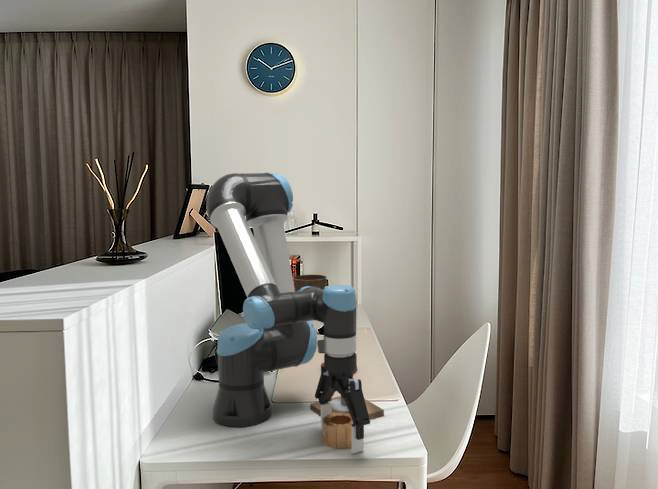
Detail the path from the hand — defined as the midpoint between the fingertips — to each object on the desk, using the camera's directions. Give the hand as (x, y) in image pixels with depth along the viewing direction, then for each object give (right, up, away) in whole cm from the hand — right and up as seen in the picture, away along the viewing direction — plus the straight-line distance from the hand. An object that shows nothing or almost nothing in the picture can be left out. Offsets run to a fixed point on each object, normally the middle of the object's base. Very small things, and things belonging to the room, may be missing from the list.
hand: (341, 440), depth 138 cm
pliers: (0, +5, +44) cm, 44 cm away
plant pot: (-11, +15, +129) cm, 130 cm away
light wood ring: (0, 0, 0) cm, 0 cm away
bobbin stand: (+2, +2, +16) cm, 17 cm away
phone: (-3, +8, +75) cm, 75 cm away
